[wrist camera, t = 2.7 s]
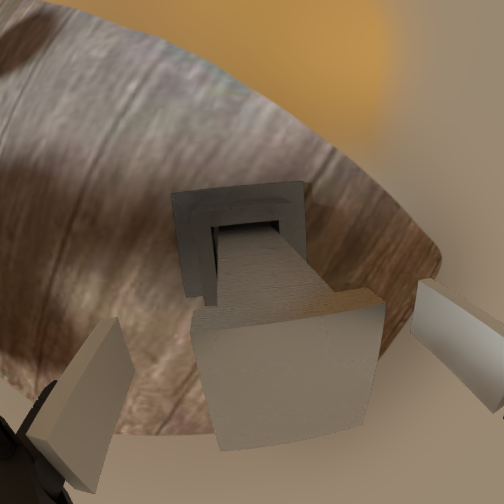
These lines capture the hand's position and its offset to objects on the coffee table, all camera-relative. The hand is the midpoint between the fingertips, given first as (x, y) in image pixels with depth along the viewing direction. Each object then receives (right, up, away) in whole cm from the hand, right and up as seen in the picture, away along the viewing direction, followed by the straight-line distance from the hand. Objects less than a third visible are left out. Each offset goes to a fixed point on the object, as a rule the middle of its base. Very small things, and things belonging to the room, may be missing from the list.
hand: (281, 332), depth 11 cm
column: (-2, +4, +15) cm, 16 cm away
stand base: (-2, +4, +16) cm, 17 cm away
